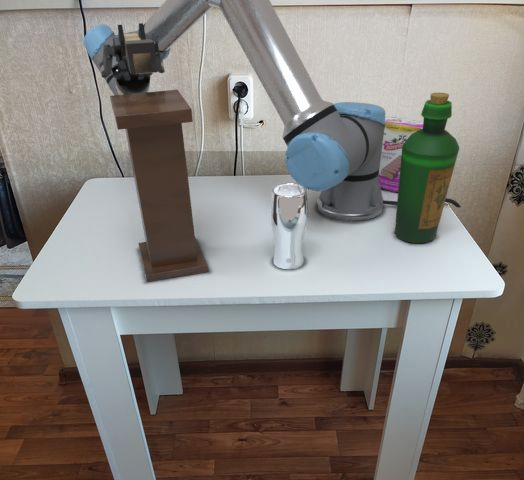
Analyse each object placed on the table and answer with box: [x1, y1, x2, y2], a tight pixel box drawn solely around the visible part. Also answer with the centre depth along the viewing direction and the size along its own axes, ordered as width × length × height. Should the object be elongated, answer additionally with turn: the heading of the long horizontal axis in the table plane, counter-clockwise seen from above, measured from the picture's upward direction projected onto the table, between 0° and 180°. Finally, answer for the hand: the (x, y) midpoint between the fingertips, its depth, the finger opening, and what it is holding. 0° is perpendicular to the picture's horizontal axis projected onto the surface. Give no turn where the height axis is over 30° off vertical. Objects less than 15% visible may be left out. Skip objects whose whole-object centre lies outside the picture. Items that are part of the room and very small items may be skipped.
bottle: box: [394, 91, 460, 244], centre depth 103 cm, size 11×11×28 cm
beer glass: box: [270, 182, 309, 270], centre depth 99 cm, size 7×7×15 cm
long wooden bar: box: [124, 32, 159, 74], centre depth 92 cm, size 22×4×4 cm, turn 17°
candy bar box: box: [378, 115, 423, 194], centre depth 126 cm, size 11×5×16 cm, turn 58°
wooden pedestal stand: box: [109, 89, 209, 283], centre depth 96 cm, size 14×12×30 cm
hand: (132, 32), depth 92 cm, fingers closed on long wooden bar, 3 cm apart
